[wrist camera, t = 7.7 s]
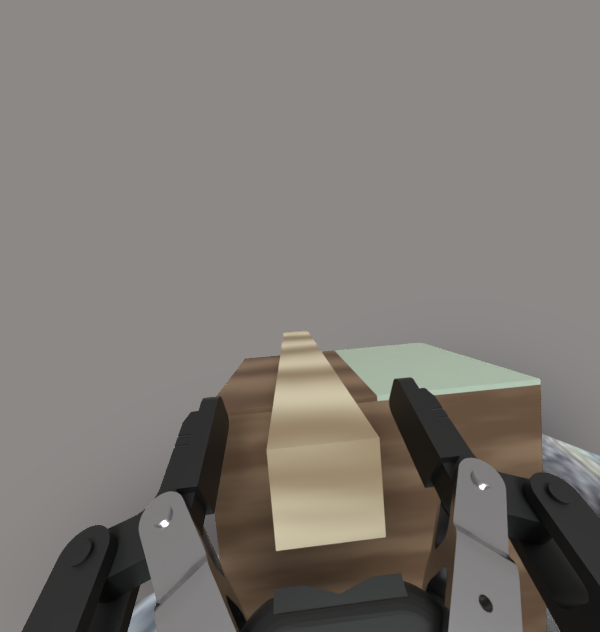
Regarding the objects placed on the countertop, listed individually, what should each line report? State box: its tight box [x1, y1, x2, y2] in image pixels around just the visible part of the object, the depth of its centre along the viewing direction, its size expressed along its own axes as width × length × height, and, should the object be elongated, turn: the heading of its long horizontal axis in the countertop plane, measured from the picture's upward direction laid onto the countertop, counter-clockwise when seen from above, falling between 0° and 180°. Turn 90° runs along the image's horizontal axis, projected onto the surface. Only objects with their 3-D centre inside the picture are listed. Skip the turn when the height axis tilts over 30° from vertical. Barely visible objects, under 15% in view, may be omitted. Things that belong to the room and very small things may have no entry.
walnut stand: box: [215, 343, 547, 632], centre depth 26 cm, size 16×24×32 cm, turn 93°
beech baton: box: [267, 331, 386, 551], centre depth 20 cm, size 26×3×3 cm, turn 3°
